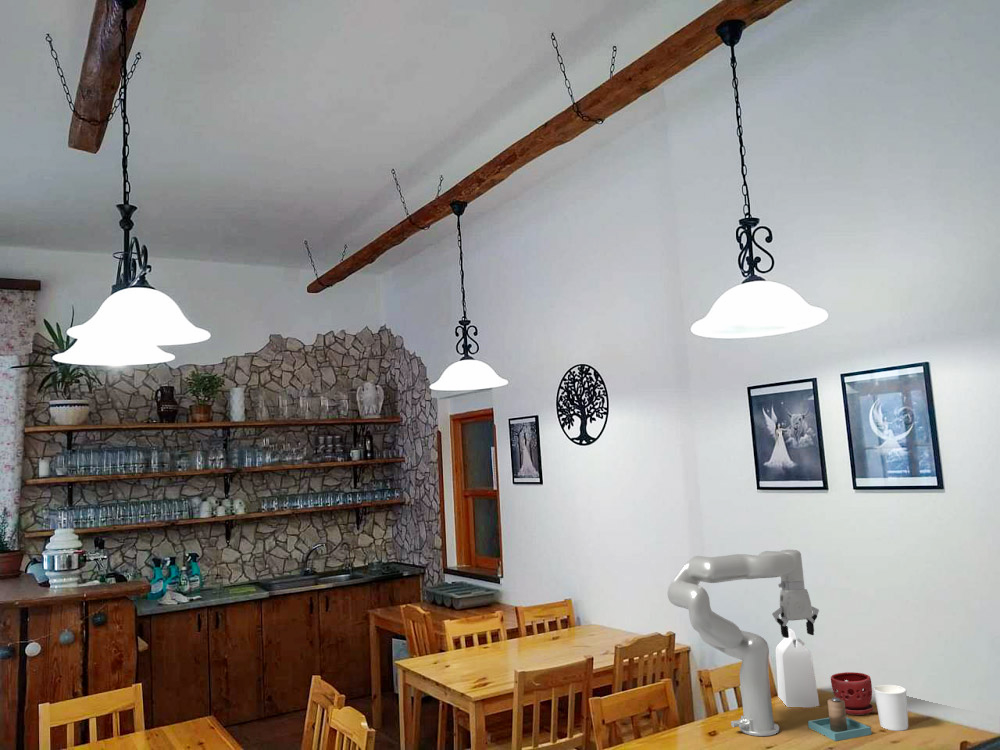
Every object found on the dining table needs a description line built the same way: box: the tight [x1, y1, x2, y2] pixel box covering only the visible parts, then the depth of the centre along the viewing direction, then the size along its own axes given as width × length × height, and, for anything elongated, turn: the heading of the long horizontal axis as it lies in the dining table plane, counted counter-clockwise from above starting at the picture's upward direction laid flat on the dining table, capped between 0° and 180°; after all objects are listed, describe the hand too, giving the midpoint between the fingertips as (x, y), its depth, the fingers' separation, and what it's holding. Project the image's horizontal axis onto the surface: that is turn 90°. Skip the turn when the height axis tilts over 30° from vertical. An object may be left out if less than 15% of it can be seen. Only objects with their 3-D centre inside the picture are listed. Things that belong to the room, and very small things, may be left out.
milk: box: [775, 627, 820, 708], centre depth 288 cm, size 12×12×26 cm
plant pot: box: [830, 671, 874, 716], centre depth 274 cm, size 13×13×12 cm
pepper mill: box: [827, 696, 848, 732], centre depth 256 cm, size 5×5×10 cm
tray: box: [807, 716, 872, 742], centre depth 255 cm, size 14×14×2 cm
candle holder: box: [872, 684, 909, 732], centre depth 256 cm, size 10×10×12 cm
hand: (798, 635), depth 272 cm, fingers open, 9 cm apart
